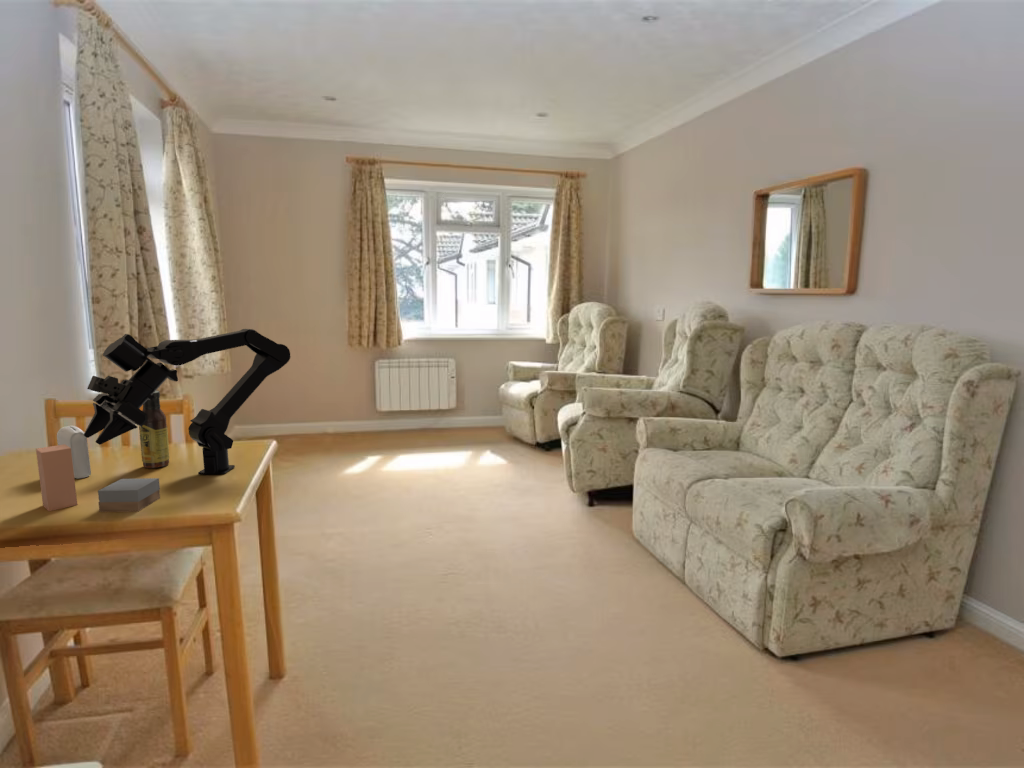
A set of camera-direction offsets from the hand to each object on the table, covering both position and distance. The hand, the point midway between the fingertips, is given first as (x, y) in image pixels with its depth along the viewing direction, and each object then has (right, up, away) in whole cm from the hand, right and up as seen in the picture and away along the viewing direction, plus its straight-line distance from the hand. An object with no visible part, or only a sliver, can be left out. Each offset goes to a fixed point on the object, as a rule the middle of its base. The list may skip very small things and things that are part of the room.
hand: (91, 439), depth 130 cm
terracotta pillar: (-4, -14, -3) cm, 15 cm away
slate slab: (+11, -12, -3) cm, 16 cm away
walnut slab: (+10, -14, -3) cm, 18 cm away
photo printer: (-17, -11, +19) cm, 27 cm away
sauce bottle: (-1, -9, +26) cm, 27 cm away
